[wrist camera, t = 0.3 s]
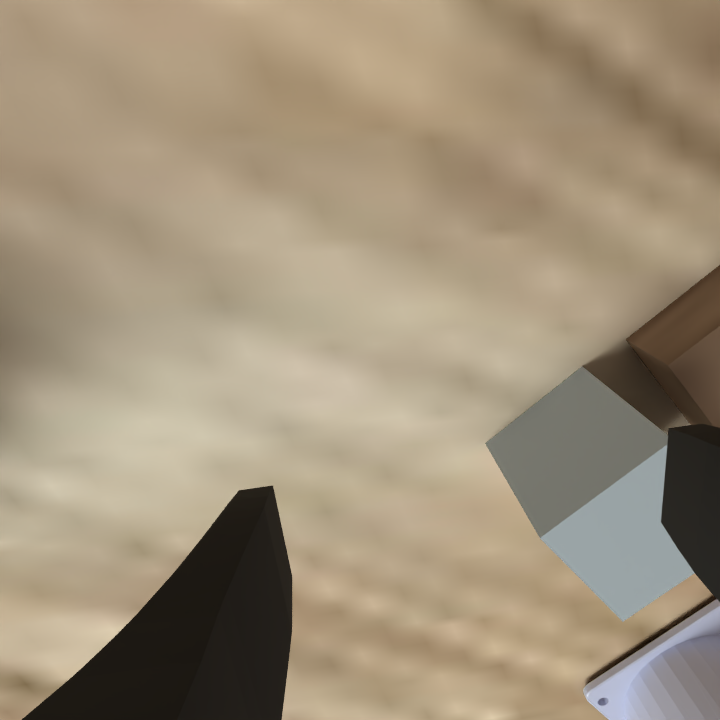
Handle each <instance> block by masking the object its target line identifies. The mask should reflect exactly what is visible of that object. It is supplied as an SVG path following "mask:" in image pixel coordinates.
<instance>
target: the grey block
mask: <svg viewBox="0 0 720 720" xmlns="http://www.w3.org/2000/svg"><path fill="white" fill-rule="evenodd" d="M667 443H668V435H667V434H666V433H664V432H663V431H662V430H661V429H659V428H658V427H657V426H656V425H655V424H653V423H652V422H651V421H650V420H648V419H647V418H646V417H645V416H643V415H642V414H641V413H640V412H638V411H637V410H636V409H635V408H633V407H632V406H631V405H630V404H628V403H627V402H626V401H625V400H623V399H622V398H621V397H620V396H618V395H617V394H616V393H615V392H614V391H612V390H611V389H610V388H609V387H607V386H606V385H605V384H604V383H602V382H601V381H600V380H599V379H597V378H596V377H595V376H594V375H592V374H591V373H590V372H589V371H587V370H586V369H585V368H584V367H581V368H579V369H578V370H577V371H576V372H574V373H573V374H572V375H571V376H569V377H568V378H567V379H566V380H564V381H563V382H562V383H561V384H559V385H558V386H557V387H556V388H554V389H553V390H552V391H551V392H549V393H548V394H547V395H545V396H544V397H543V398H542V399H540V400H539V401H538V402H537V403H535V404H534V405H533V406H532V407H530V408H529V409H528V410H527V411H525V412H524V413H523V414H522V415H520V416H519V417H518V418H517V419H515V420H514V421H513V422H511V423H510V424H509V425H508V426H506V427H505V428H504V429H503V430H501V431H500V432H499V433H498V434H496V435H495V436H494V437H493V438H491V439H490V440H489V441H488V442H486V443H485V444H486V446H487V447H488V449H489V451H490V452H491V454H492V456H493V458H494V459H495V461H496V463H497V465H498V466H499V468H500V470H501V471H502V473H503V475H504V477H505V478H506V480H507V482H508V484H509V485H510V487H511V489H512V491H513V492H514V494H515V496H516V497H517V499H518V501H519V503H520V504H521V506H522V508H523V510H524V511H525V513H526V515H527V516H528V518H529V520H530V522H531V523H532V525H533V527H534V529H535V530H536V532H537V534H538V535H539V537H540V539H541V540H542V541H543V542H544V543H545V544H546V545H547V546H548V547H549V548H550V549H551V550H552V551H553V552H554V553H555V554H556V555H557V556H558V557H559V558H560V559H561V560H562V561H563V562H564V563H565V564H566V565H567V566H568V567H569V568H570V569H571V570H572V571H573V572H574V573H575V574H576V575H577V576H578V577H579V578H580V579H581V580H582V581H583V582H584V583H585V584H586V585H587V586H588V587H589V588H590V589H591V590H592V591H593V592H594V593H595V594H596V595H597V596H598V597H599V598H600V599H601V600H602V601H603V602H604V603H605V604H606V605H607V606H608V607H609V608H610V609H611V610H612V611H613V612H614V613H615V614H616V615H617V616H618V617H619V618H620V619H621V620H622V621H624V620H626V619H627V618H629V617H630V616H632V615H633V614H635V613H636V612H638V611H639V610H641V609H642V608H644V607H645V606H647V605H648V604H650V603H651V602H653V601H654V600H655V599H657V598H658V597H660V596H661V595H663V594H664V593H666V592H667V591H669V590H670V589H672V588H673V587H675V586H676V585H678V584H679V583H681V582H682V581H684V580H685V579H687V578H688V577H690V576H691V575H692V574H694V571H693V570H692V569H691V567H690V566H689V564H688V563H687V561H686V560H685V558H684V557H683V556H682V554H681V553H680V551H679V550H678V548H677V547H676V545H675V544H674V542H673V541H672V539H671V537H670V536H669V534H668V533H667V531H666V530H665V528H664V526H663V525H662V523H661V514H662V502H663V490H664V478H665V466H666V454H667Z"/></svg>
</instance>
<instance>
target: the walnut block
mask: <svg viewBox="0 0 720 720" xmlns="http://www.w3.org/2000/svg"><path fill="white" fill-rule="evenodd" d="M626 340H627V342H628V343H629V344H630V346H631V347H632V348H633V350H634V351H635V352H636V353H637V355H638V356H639V357H640V359H641V360H642V361H643V363H644V364H645V365H646V367H647V368H648V369H649V371H650V372H651V373H652V374H653V376H654V377H655V378H656V380H657V381H658V382H659V384H660V385H661V386H662V388H663V389H664V390H665V392H666V393H667V394H668V395H669V397H670V398H671V399H672V401H673V402H674V403H675V405H676V406H677V407H678V409H679V410H680V411H681V413H682V414H683V415H684V416H685V418H686V419H687V420H688V422H689V423H690V424H691V425H696V424H706V425H710V426H715V427H719V428H720V265H719V266H718V267H717V268H716V269H714V270H713V271H712V272H711V273H709V274H708V275H707V276H705V277H704V278H703V279H702V280H700V281H699V282H698V283H697V284H695V285H694V286H693V287H692V288H690V289H689V290H688V291H687V292H685V293H684V294H683V295H681V296H680V297H679V298H678V299H676V300H675V301H674V302H673V303H671V304H670V305H669V306H668V307H666V308H665V309H664V310H663V311H661V312H660V313H659V314H657V315H656V316H655V317H654V318H652V319H651V320H650V321H649V322H647V323H646V324H645V325H644V326H642V327H641V328H640V329H639V330H637V331H636V332H635V333H633V334H632V335H631V336H630V337H628V338H627V339H626Z"/></svg>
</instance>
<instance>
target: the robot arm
mask: <svg viewBox="0 0 720 720" xmlns="http://www.w3.org/2000/svg"><path fill="white" fill-rule="evenodd" d="M661 523H662V525H663V526H664V528H665V530H666V531H667V533H668V534H669V536H670V537H671V539H672V541H673V542H674V544H675V545H676V547H677V548H678V550H679V551H680V553H681V554H682V556H683V557H684V558H685V560H686V561H687V563H688V564H689V566H690V567H691V569H692V570H693V571H694V573H695V574H696V575H697V576H698V577H699V579H700V580H701V581H702V582H703V583H704V585H705V586H706V587H707V588H708V589H709V590H710V592H711V593H712V594H713V595H714V596H715V597H716V598H717V599H716V600H714V601H713V602H711V603H710V604H708V605H707V606H705V607H704V608H702V609H700V610H699V611H697V612H696V613H694V614H693V615H691V616H690V617H688V618H687V619H685V620H684V621H682V622H681V623H679V624H678V625H676V626H675V627H673V628H672V629H670V630H669V631H667V632H666V633H664V634H663V635H661V636H659V637H658V638H656V639H655V640H653V641H652V642H650V643H649V644H647V645H646V646H644V647H643V648H641V649H640V650H638V651H637V652H635V653H634V654H632V655H631V656H629V657H628V658H626V659H625V660H623V661H622V662H620V663H619V664H617V665H615V666H614V667H612V668H611V669H609V670H608V671H606V672H605V673H603V674H602V675H600V676H599V677H597V678H596V679H594V680H593V681H591V682H590V683H588V684H587V685H586V686H585V688H584V689H583V693H584V695H585V697H586V699H587V701H588V702H589V703H591V704H592V705H593V706H594V707H595V708H596V709H597V710H598V711H600V712H601V713H602V714H603V715H604V716H605V717H606V718H607V719H609V720H720V428H719V427H715V426H710V425H706V424H696V425H689V426H682V427H675V428H669V431H668V443H667V454H666V466H665V478H664V490H663V502H662V514H661ZM291 635H292V574H291V569H290V564H289V560H288V555H287V550H286V545H285V541H284V536H283V531H282V527H281V522H280V517H279V512H278V508H277V503H276V498H275V494H274V489H273V486H267V487H260V488H253V489H246V490H239V491H238V492H237V494H236V495H235V496H234V497H233V499H232V500H231V501H230V502H229V504H228V505H227V506H226V507H225V509H224V510H223V511H222V513H221V514H220V515H219V517H218V518H217V519H216V520H215V522H214V523H213V524H212V526H211V527H210V528H209V530H208V531H207V532H206V533H205V535H204V536H203V537H202V539H201V540H200V541H199V542H198V544H197V545H196V546H195V547H194V549H193V550H192V551H191V552H190V554H189V555H188V556H187V557H186V559H185V560H184V561H183V562H182V563H181V565H180V566H179V567H178V568H177V570H176V571H175V572H174V573H173V574H172V576H171V577H170V578H169V579H168V580H167V581H166V582H165V583H164V584H163V586H162V587H161V588H160V589H159V590H158V591H157V592H156V593H155V595H154V596H153V597H152V598H151V599H150V600H149V601H148V602H147V604H146V605H145V606H144V607H143V608H142V609H141V610H140V611H139V613H138V614H137V615H136V616H135V617H134V618H133V619H132V620H131V621H130V622H129V623H128V624H127V625H126V626H125V627H124V628H123V629H122V630H121V631H120V632H119V633H118V634H117V635H116V636H115V637H114V638H113V639H112V640H111V641H110V642H109V643H108V644H107V645H106V646H105V647H104V648H103V649H102V650H100V651H99V652H98V653H97V654H96V655H95V656H94V657H93V658H92V659H91V660H90V661H89V662H88V663H87V664H86V665H85V666H84V667H83V668H81V669H80V670H79V671H78V672H77V673H76V674H75V675H74V676H73V677H72V678H70V679H69V680H68V681H67V682H66V683H65V684H63V685H62V686H61V687H60V688H59V689H57V690H56V691H55V692H54V693H53V694H52V695H50V696H49V697H48V698H47V699H46V700H44V701H43V702H42V703H41V704H40V705H39V706H37V707H36V708H35V709H34V710H33V711H31V712H30V713H29V714H28V715H27V716H26V717H24V718H23V719H22V720H281V719H282V711H283V702H284V694H285V686H286V678H287V669H288V661H289V652H290V644H291Z"/></svg>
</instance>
